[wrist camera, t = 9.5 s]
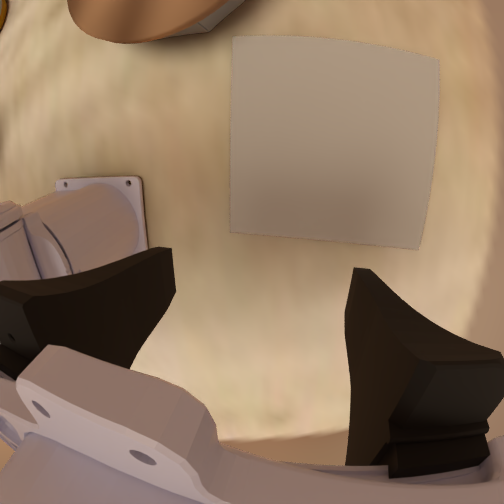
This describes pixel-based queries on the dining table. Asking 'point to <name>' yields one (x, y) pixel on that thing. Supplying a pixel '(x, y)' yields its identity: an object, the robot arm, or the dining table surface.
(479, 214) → the dining table surface
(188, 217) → the dining table surface
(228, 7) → the bowl
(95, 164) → the dining table surface
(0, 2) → the bottle
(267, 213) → the mat
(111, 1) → the lid
